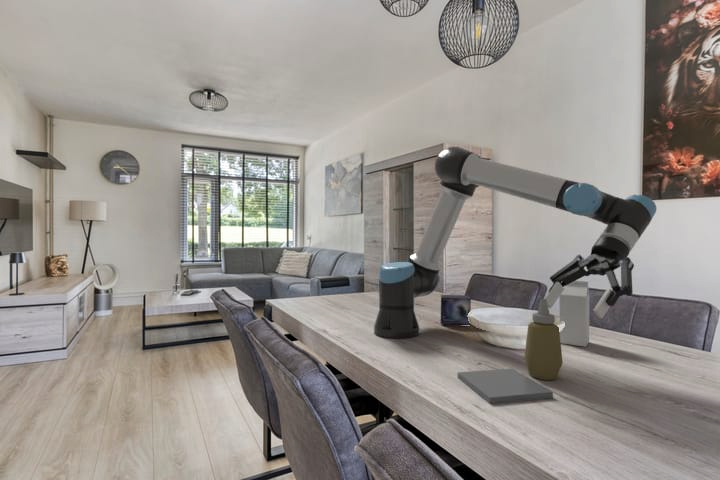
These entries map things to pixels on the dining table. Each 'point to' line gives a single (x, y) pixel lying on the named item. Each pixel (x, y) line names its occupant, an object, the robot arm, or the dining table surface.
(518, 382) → the slate trivet
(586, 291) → the milk carton
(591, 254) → the robot arm
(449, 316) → the small box
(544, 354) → the squeeze bottle
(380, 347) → the dining table surface
